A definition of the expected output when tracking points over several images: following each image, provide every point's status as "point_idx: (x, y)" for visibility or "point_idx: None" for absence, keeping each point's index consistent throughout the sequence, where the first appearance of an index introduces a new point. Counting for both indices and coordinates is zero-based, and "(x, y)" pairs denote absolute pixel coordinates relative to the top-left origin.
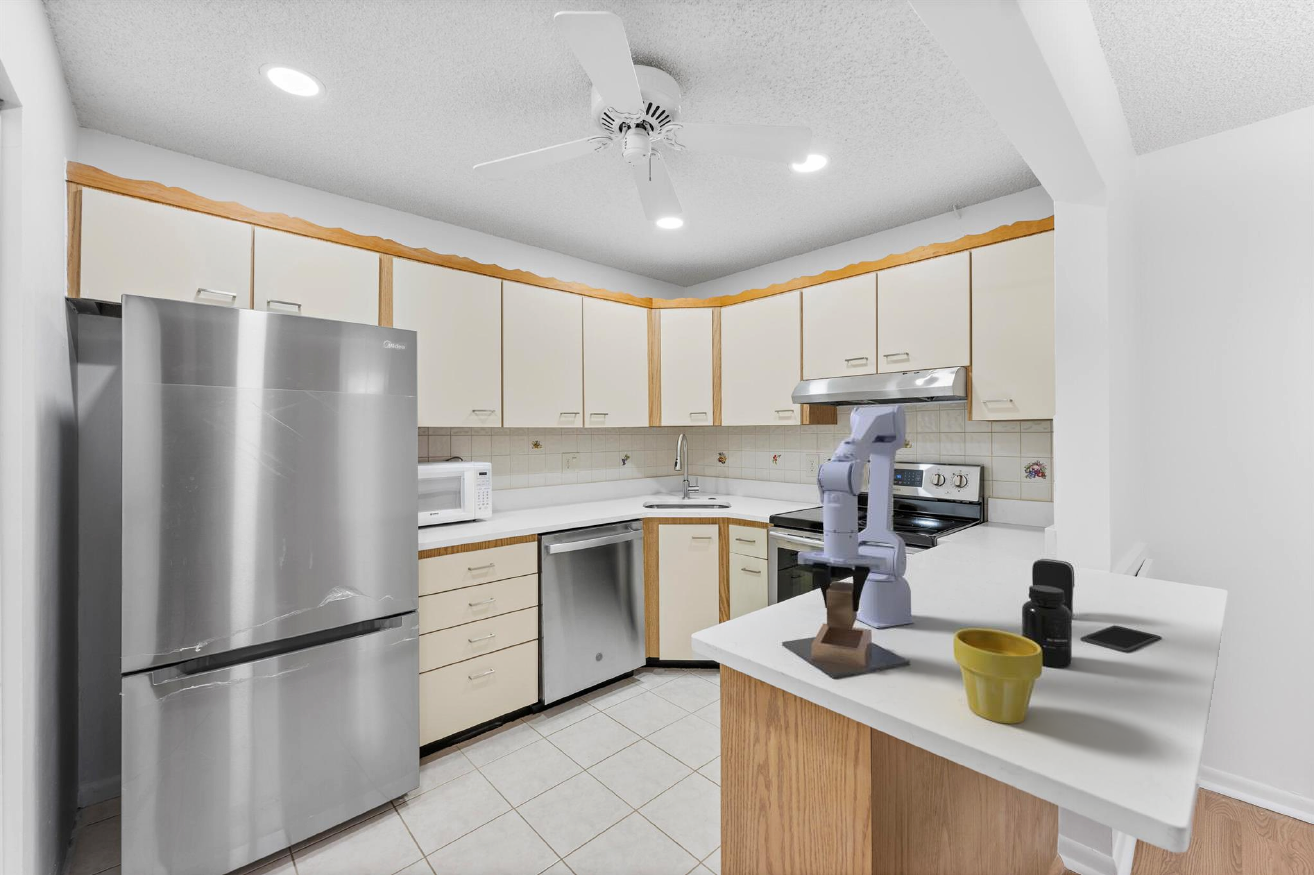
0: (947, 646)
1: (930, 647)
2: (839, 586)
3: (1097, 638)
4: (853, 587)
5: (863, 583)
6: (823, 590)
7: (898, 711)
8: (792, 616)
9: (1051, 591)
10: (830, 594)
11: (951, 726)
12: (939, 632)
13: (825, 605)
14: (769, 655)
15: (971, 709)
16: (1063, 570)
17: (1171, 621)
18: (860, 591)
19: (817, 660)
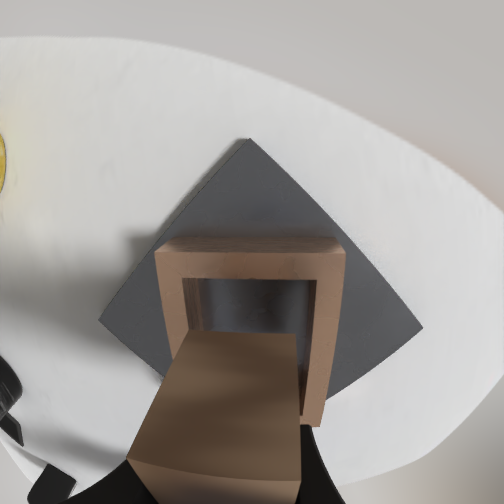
0: (89, 407)
1: (106, 402)
2: None
3: (11, 422)
4: (132, 500)
5: (69, 500)
6: (323, 491)
7: (90, 54)
8: (383, 459)
9: None
10: (271, 461)
11: (28, 66)
12: (121, 450)
13: (310, 431)
14: (447, 240)
15: (2, 142)
16: (32, 499)
17: (13, 449)
18: (108, 476)
19: (316, 233)
